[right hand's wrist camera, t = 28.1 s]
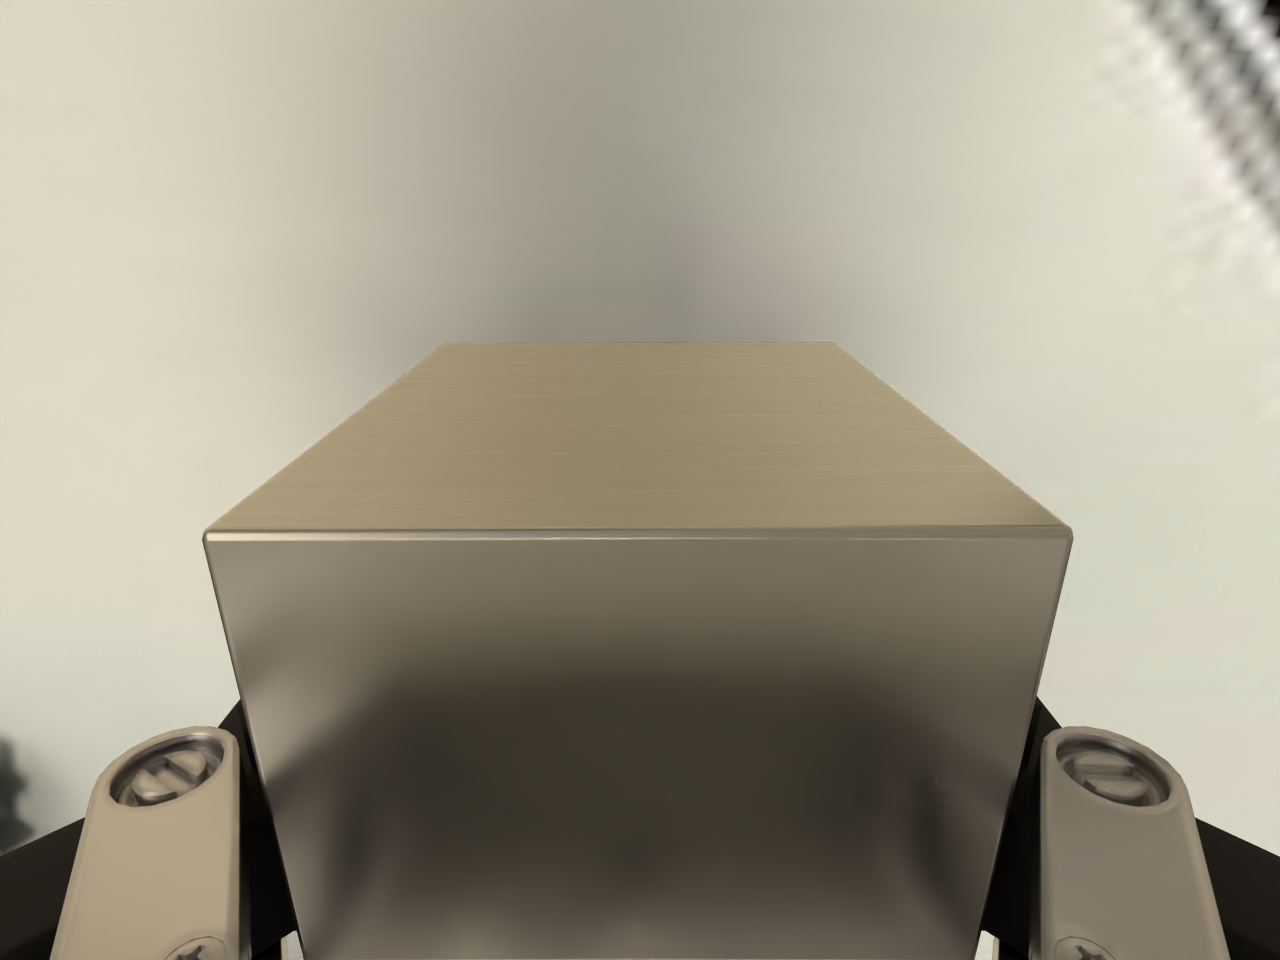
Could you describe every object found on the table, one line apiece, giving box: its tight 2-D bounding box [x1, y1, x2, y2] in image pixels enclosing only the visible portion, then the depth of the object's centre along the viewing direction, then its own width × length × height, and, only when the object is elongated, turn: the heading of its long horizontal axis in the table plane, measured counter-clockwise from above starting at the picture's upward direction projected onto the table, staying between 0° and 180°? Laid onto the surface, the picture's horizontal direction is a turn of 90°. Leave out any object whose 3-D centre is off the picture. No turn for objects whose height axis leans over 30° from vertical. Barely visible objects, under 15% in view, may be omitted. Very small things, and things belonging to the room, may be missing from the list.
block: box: [202, 342, 1073, 960], centre depth 11 cm, size 7×8×8 cm
